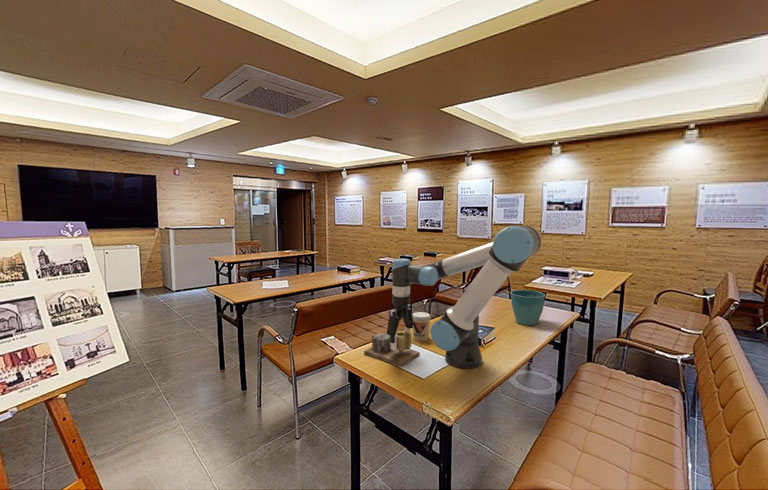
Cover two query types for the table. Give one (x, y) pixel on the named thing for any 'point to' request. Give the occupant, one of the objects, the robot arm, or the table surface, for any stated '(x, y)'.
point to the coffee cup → (421, 326)
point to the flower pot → (527, 306)
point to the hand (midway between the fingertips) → (400, 346)
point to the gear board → (389, 351)
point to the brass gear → (403, 340)
